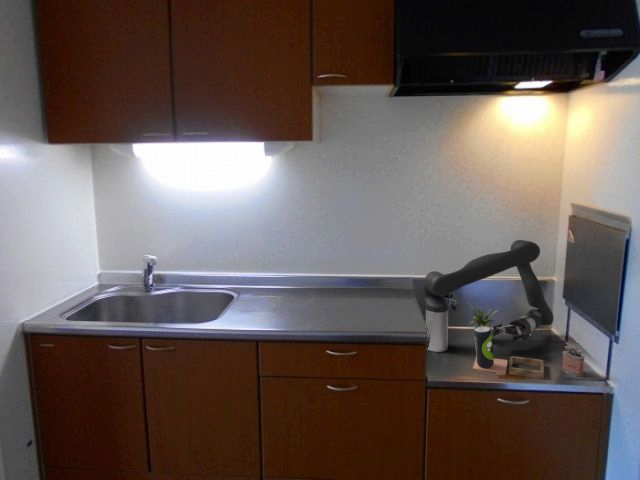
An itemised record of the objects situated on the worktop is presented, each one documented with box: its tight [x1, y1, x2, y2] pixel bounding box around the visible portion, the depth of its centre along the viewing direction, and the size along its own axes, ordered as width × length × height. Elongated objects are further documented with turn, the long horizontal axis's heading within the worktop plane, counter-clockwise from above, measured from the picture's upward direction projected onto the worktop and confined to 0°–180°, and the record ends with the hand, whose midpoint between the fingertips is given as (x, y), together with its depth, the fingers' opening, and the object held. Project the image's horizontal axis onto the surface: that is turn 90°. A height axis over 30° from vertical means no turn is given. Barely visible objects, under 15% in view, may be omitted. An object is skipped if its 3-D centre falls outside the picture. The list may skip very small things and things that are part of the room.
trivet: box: [472, 356, 509, 375], centre depth 195 cm, size 12×12×1 cm
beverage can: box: [473, 326, 495, 368], centre depth 192 cm, size 6×6×15 cm
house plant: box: [468, 305, 499, 332], centre depth 220 cm, size 14×14×16 cm
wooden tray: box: [508, 355, 545, 380], centre depth 190 cm, size 12×12×2 cm
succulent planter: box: [561, 345, 585, 378], centre depth 186 cm, size 8×3×10 cm, turn 29°
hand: (503, 336), depth 200 cm, fingers open, 8 cm apart
